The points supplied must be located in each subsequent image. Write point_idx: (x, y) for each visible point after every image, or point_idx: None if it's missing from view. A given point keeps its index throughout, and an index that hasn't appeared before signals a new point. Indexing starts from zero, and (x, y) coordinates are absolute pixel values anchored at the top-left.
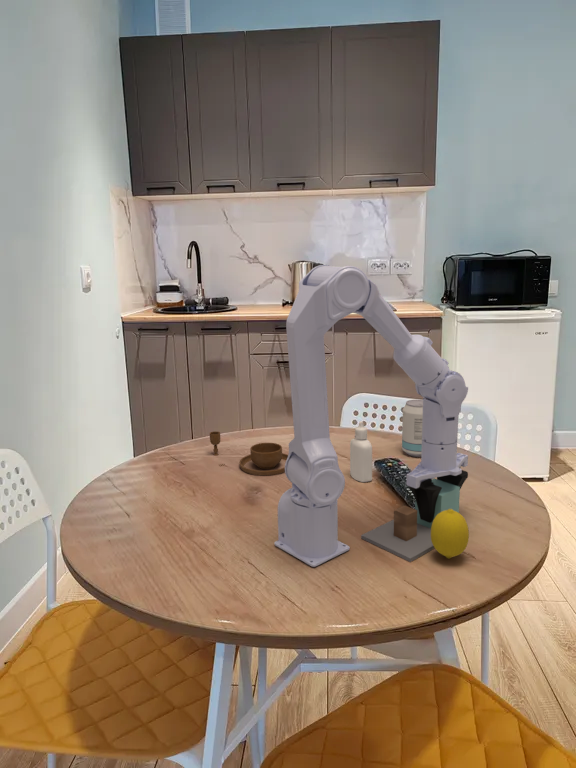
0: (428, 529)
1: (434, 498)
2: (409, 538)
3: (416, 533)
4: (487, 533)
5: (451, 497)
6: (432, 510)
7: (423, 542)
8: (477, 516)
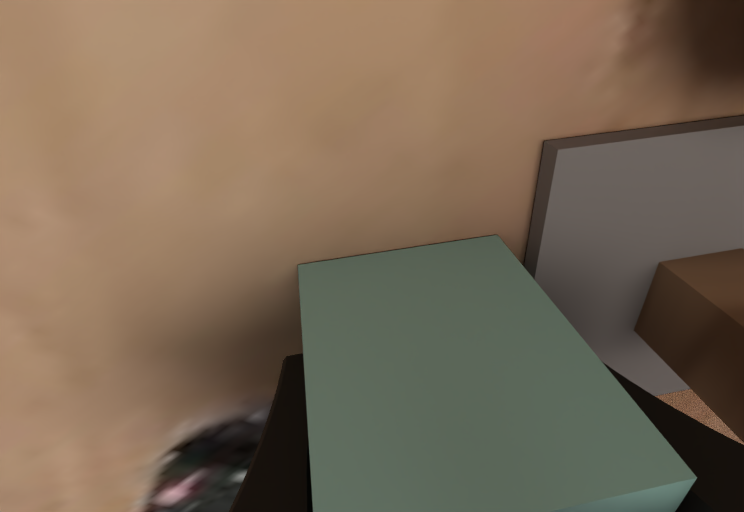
0: (550, 280)
1: (726, 463)
2: (723, 256)
3: (674, 270)
4: (233, 23)
5: (464, 441)
6: (611, 370)
7: (719, 189)
8: (89, 264)
